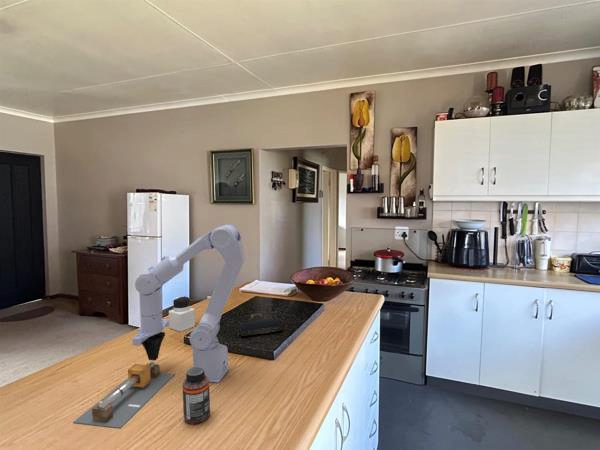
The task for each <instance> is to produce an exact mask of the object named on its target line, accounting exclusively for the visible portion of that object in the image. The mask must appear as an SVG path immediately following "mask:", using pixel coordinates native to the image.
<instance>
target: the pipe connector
mask: <svg viewBox="0 0 600 450" xmlns="http://www.w3.org/2000/svg"><path fill="white" fill-rule="evenodd" d="M250 321H251V322H250ZM238 326H239V327H241V331H246V330H252V329H261V328H269V327H276V326H281V327H282V322H281V319H280V318H272V319H271V318H270V319H264V318H263V315H262V314H261V313H255V314H250V319H249V321H247V322H240V323H239V325H238Z"/></svg>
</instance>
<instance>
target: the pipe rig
mask: <svg viewBox="0 0 600 450" xmlns="http://www.w3.org/2000/svg"><path fill="white" fill-rule="evenodd" d="M146 365H150V380H151V381H150V382H149V383H148V384H147V385H146V386H145V387H134V386H133V385H134V384H136V383H137V382H138V381H139V380H140V374H136V375H135V376H133V377H132V378H131V379H130V380H128V378H126V379H125V380H124V381H122V382H121V383H120V384H119V385H118V386H116V387H115V388H114V389H112V391H110V392H108V393H107V394H106V395H105V396H104V397H103V398H101V399H100V400H99V401H97V402H96V403H95V404H94V405H93V406H91V407H90V408H88V409H87V410H86V411H85V412H84V413H83V414H81V415H80V416H79V417H77V418H76V419H75V420H74V421H73V422H72V423H73V424H80V425H88V426H97V427H105V428H114V429H122V428H123V427H124V426H125V424H127V423H128V422H129V421H130V420H131V418H133V417H134V416H135V415H136V413H138V412H139V411H140V410H141V409H142V408H143V407H144V406H145V405H146V404H147V403H148V402H149V401H150V400H151V399H152V398H153V397H154V396H155V395H157V393H158V392H159V391H160V390H161V389H162V388H163V387H164V386H165V385H167V383H168V382H169V381H170V380H171V379H172V378H173V377H174V376H176V374H175V373H171V372H161V370H160V364H159V363H158V364H156V363H155V362H153V361H150V363H147V364H146Z"/></svg>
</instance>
